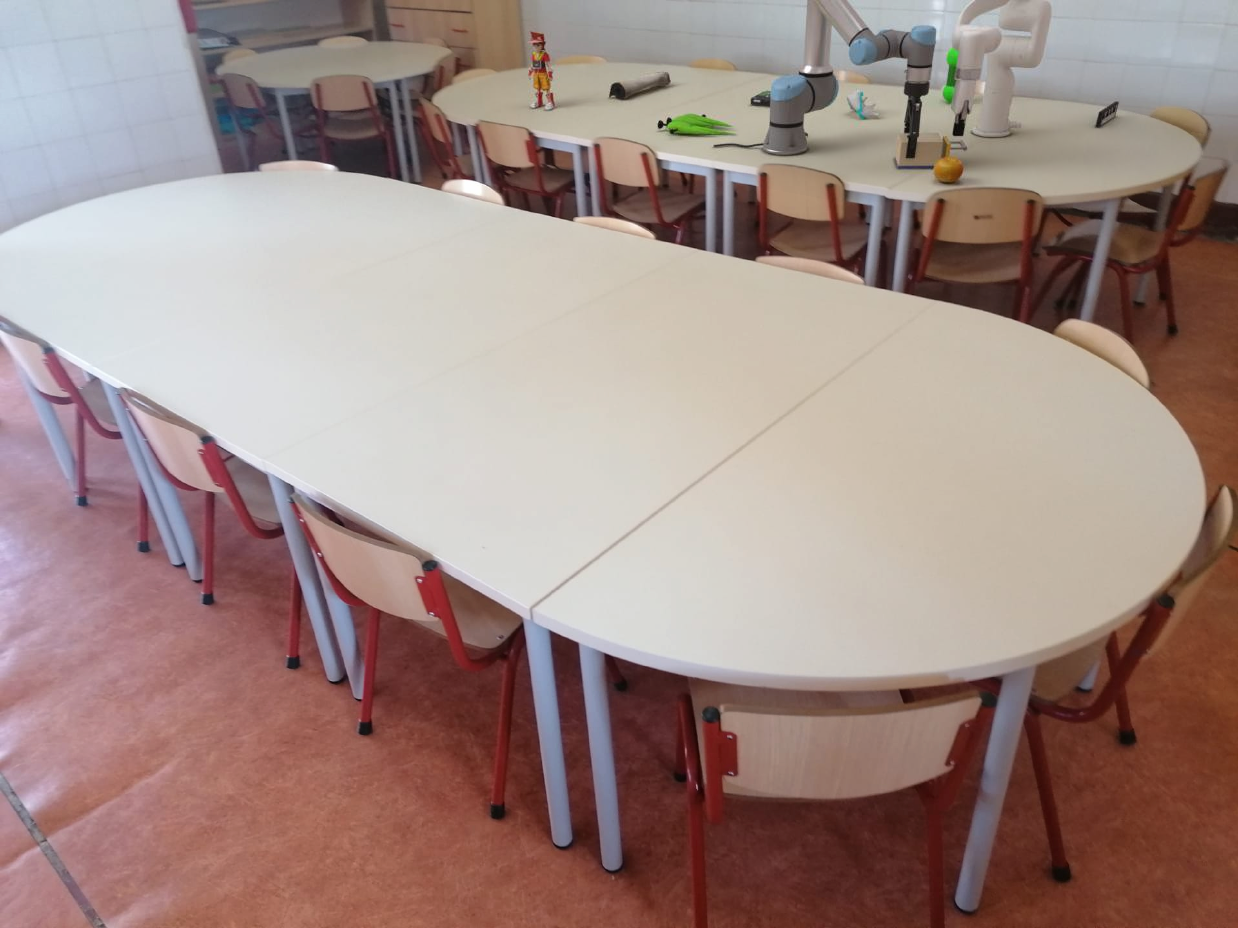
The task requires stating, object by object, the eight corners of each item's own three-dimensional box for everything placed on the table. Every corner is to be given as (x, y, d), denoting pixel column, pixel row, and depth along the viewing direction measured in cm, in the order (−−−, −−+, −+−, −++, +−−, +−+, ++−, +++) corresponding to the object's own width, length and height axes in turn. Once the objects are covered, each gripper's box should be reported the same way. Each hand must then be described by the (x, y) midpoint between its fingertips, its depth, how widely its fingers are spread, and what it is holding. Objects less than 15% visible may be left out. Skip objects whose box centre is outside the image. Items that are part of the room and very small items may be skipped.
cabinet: (934, 158, 297) (938, 132, 292) (939, 168, 288) (943, 142, 283) (894, 159, 299) (897, 133, 294) (898, 168, 290) (901, 142, 285)
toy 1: (525, 109, 381) (517, 32, 364) (534, 104, 388) (527, 28, 371) (550, 110, 377) (543, 32, 360) (559, 105, 384) (553, 28, 367)
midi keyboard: (1099, 127, 316) (1102, 112, 313) (1095, 126, 316) (1098, 112, 314) (1115, 116, 326) (1119, 101, 323) (1111, 115, 327) (1115, 101, 324)
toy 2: (646, 133, 336) (718, 146, 323) (647, 118, 333) (719, 132, 320) (682, 121, 356) (750, 133, 343) (683, 107, 353) (752, 119, 341)
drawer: (960, 156, 294) (963, 136, 291) (965, 164, 287) (968, 144, 283) (907, 156, 297) (909, 136, 293) (910, 165, 289) (913, 144, 286)
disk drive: (773, 107, 363) (788, 98, 373) (773, 100, 361) (788, 91, 371) (750, 105, 368) (765, 96, 378) (750, 98, 366) (765, 89, 376)
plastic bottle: (973, 101, 354) (984, 32, 339) (955, 106, 349) (966, 36, 335) (952, 97, 361) (962, 29, 346) (934, 102, 356) (944, 33, 342)
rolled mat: (651, 76, 408) (662, 61, 399) (662, 93, 408) (674, 79, 400) (605, 92, 391) (616, 77, 383) (617, 110, 391) (628, 95, 383)
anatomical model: (842, 88, 347) (867, 81, 346) (844, 115, 353) (869, 108, 352) (853, 97, 335) (879, 90, 334) (855, 125, 341) (881, 118, 340)
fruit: (927, 172, 273) (945, 149, 270) (928, 175, 281) (945, 152, 278) (950, 188, 272) (968, 164, 269) (951, 190, 280) (968, 167, 277)
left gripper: (901, 73, 289) (892, 143, 302) (909, 90, 270) (900, 163, 283) (925, 72, 288) (915, 143, 301) (935, 89, 269) (924, 163, 282)
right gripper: (951, 69, 283) (942, 130, 293) (959, 79, 270) (949, 141, 281) (976, 69, 282) (965, 130, 292) (985, 79, 269) (974, 141, 279)
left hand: (908, 153), depth 292 cm, fingers closed on cabinet, 11 cm apart
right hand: (957, 135), depth 286 cm, fingers closed
